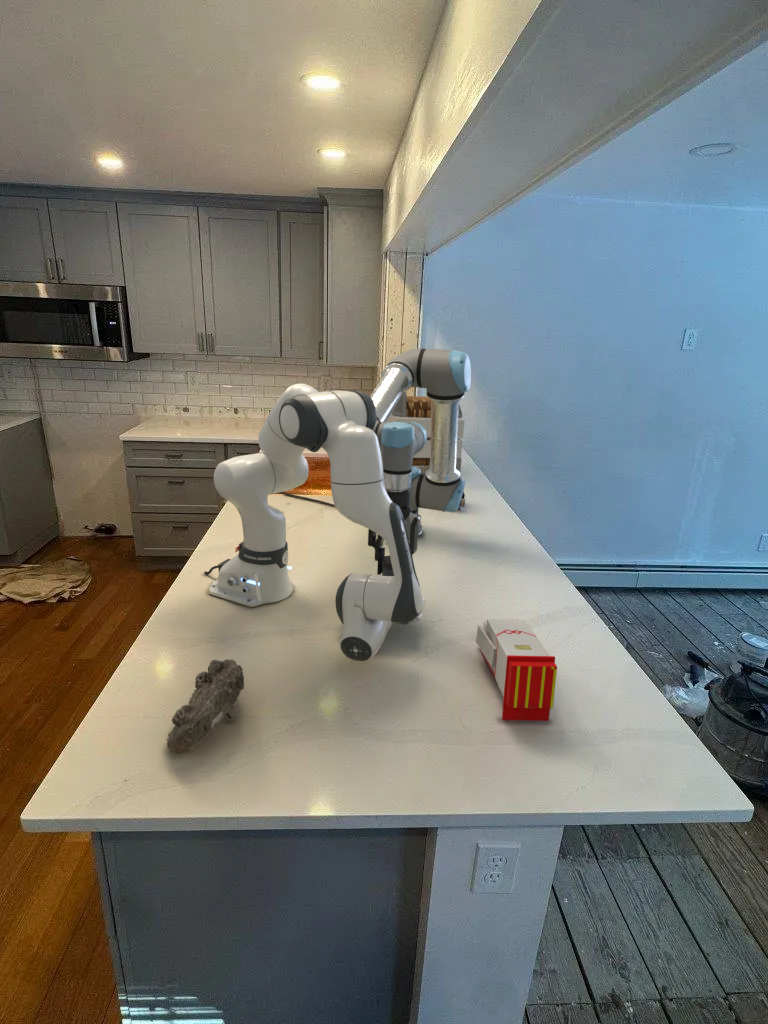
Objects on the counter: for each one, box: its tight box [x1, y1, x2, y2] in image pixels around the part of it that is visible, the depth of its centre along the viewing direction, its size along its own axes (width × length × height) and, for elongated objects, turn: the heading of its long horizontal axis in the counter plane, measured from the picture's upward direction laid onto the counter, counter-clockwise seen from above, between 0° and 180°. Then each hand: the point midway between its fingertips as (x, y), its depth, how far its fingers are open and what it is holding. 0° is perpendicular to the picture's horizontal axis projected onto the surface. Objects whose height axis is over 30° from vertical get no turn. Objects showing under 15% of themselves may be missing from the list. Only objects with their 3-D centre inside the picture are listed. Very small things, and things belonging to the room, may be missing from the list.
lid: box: [381, 555, 393, 570], centre depth 143 cm, size 5×5×2 cm
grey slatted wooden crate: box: [386, 391, 465, 475], centre depth 268 cm, size 34×33×41 cm
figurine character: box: [457, 491, 466, 511], centre depth 229 cm, size 7×8×15 cm
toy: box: [475, 618, 558, 722], centre depth 122 cm, size 12×13×30 cm
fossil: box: [166, 658, 245, 754], centre depth 106 cm, size 22×10×15 cm
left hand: (390, 588), depth 147 cm, fingers closed on jar, 4 cm apart
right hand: (390, 574), depth 144 cm, fingers closed on lid, 5 cm apart
